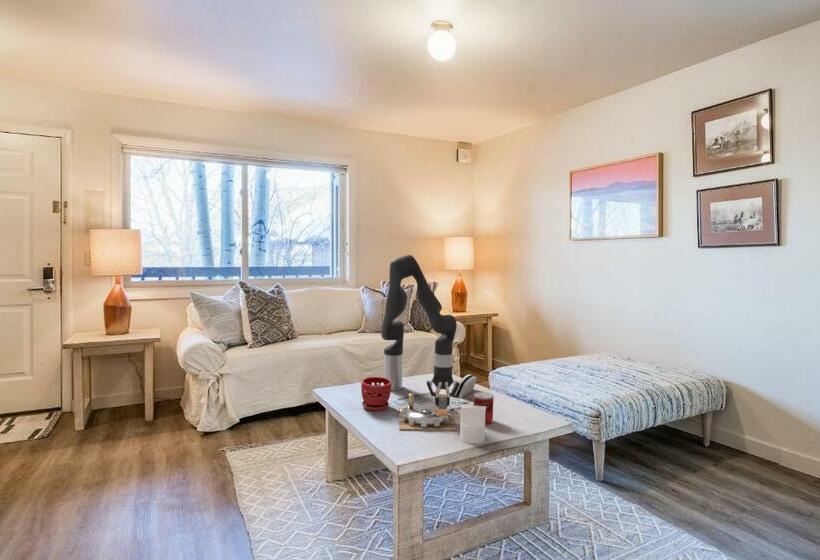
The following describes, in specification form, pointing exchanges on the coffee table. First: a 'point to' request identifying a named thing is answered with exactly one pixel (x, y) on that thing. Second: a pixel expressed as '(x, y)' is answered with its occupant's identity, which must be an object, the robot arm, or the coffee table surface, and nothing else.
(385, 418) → the coffee table surface
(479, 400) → the canned food
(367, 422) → the coffee table surface
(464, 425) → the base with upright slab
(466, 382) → the grey curved shell
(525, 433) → the coffee table surface
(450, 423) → the board
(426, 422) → the sprocket
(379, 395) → the plant pot
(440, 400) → the grey rectangular block
